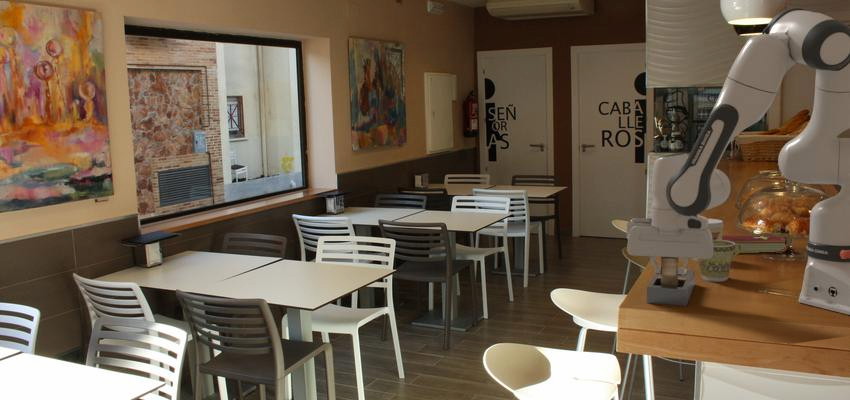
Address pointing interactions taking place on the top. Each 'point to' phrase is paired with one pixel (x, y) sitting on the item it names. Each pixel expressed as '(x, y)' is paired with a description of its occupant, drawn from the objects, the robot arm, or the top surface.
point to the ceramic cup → (718, 261)
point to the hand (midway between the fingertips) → (669, 274)
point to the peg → (669, 271)
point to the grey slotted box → (671, 290)
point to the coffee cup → (715, 230)
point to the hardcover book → (756, 243)
